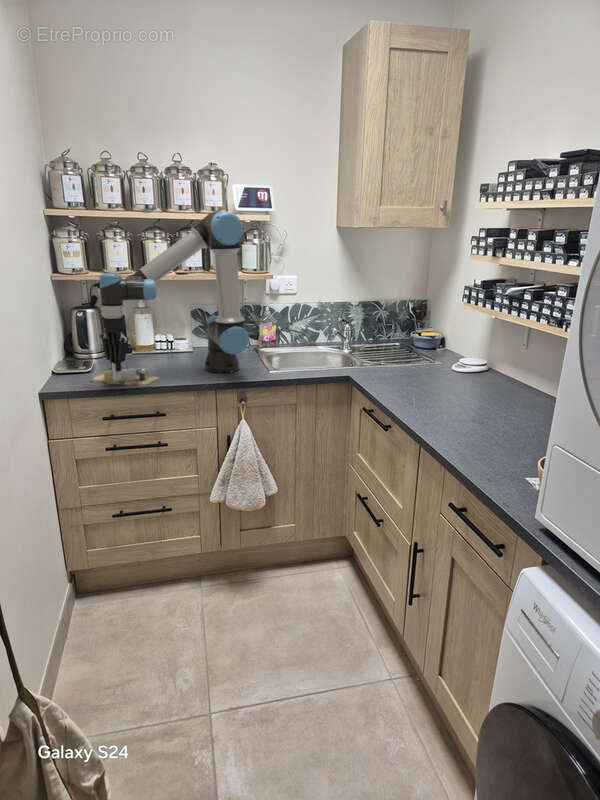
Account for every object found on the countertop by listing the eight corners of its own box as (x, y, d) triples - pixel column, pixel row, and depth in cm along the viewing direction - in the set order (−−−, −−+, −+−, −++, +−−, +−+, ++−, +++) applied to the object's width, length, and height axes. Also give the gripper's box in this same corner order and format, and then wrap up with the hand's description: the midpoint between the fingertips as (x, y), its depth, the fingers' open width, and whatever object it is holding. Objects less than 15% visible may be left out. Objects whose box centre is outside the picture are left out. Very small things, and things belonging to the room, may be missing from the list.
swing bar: (146, 375, 215) (146, 366, 214) (149, 378, 211) (148, 369, 210) (103, 379, 208) (103, 370, 207) (105, 382, 204) (104, 373, 203)
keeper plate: (138, 376, 220) (137, 366, 218) (124, 384, 208) (124, 374, 207) (105, 373, 221) (104, 364, 220) (90, 382, 210) (89, 372, 209)
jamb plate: (159, 379, 217) (159, 370, 215) (149, 386, 207) (149, 377, 206) (135, 377, 218) (135, 369, 217) (124, 384, 208) (124, 375, 207)
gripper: (133, 317, 198) (136, 380, 205) (109, 314, 204) (113, 374, 211) (116, 319, 192) (120, 384, 199) (92, 316, 198) (97, 378, 205)
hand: (117, 379), depth 205 cm, fingers closed
